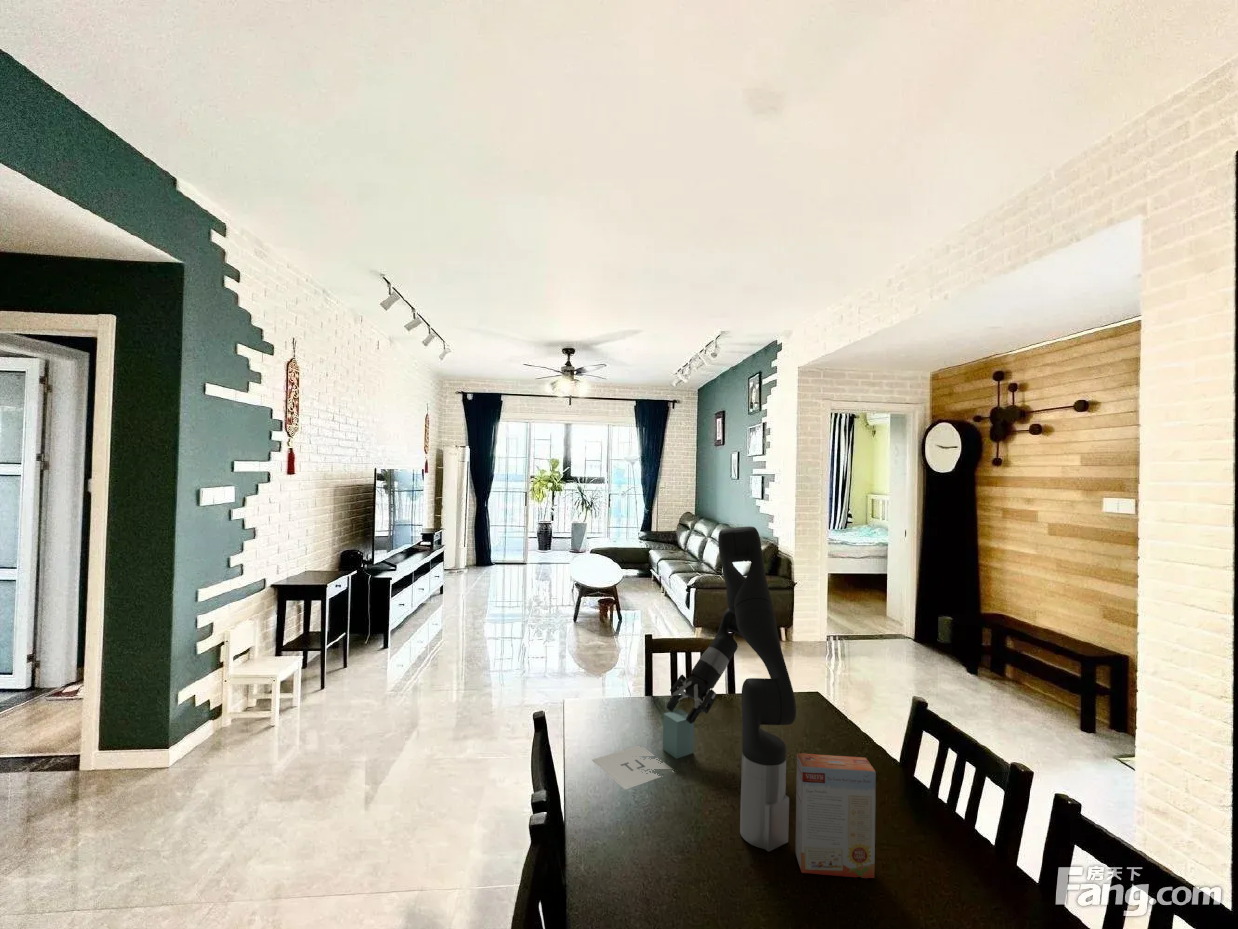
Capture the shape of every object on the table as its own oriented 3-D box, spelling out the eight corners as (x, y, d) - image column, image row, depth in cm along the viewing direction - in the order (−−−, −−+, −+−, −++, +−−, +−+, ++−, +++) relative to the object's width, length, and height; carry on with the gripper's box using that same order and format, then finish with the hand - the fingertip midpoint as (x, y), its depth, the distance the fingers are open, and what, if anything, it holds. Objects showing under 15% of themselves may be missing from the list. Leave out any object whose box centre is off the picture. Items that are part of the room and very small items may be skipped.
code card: (676, 771, 144) (676, 771, 144) (624, 790, 135) (624, 789, 135) (640, 745, 157) (640, 744, 157) (591, 760, 148) (591, 759, 148)
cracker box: (864, 859, 113) (867, 756, 113) (875, 881, 107) (877, 772, 107) (793, 852, 114) (796, 750, 115) (800, 874, 108) (803, 766, 109)
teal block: (693, 753, 154) (694, 717, 154) (676, 759, 150) (677, 722, 150) (679, 744, 159) (680, 709, 159) (662, 749, 155) (663, 713, 155)
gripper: (687, 652, 165) (655, 699, 159) (721, 667, 154) (688, 718, 147) (700, 667, 168) (669, 713, 162) (734, 683, 156) (702, 733, 150)
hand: (678, 715), depth 155 cm, fingers open, 8 cm apart
